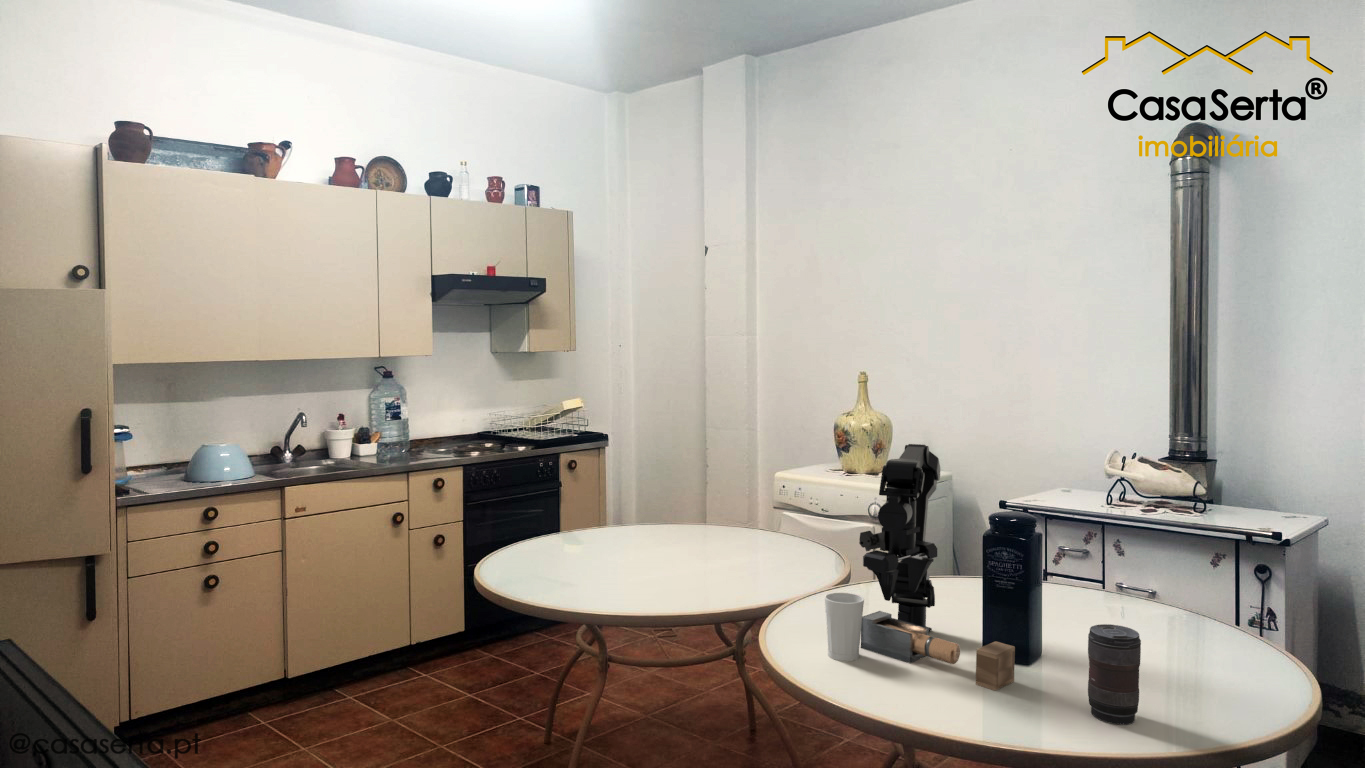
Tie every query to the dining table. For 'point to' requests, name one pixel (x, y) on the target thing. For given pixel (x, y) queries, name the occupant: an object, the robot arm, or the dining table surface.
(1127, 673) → the camera lens
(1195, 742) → the dining table surface
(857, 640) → the cup
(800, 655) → the dining table surface
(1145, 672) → the dining table surface
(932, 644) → the tube
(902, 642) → the grey channel holder
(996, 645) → the socket
